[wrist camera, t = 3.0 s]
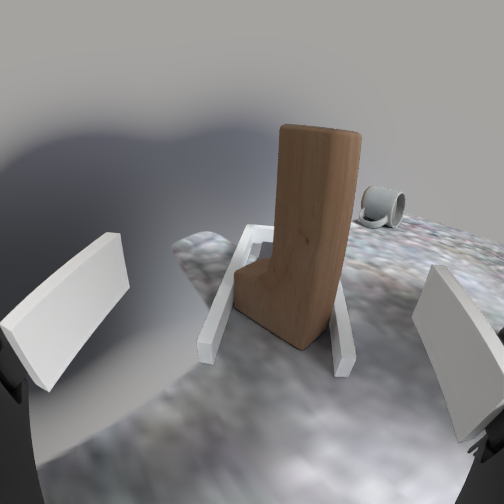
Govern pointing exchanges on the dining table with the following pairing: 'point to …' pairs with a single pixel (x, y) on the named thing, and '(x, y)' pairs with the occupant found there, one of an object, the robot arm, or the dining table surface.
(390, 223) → the ceramic mug
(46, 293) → the robot arm
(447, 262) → the dining table surface
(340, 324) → the channel
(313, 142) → the wooden block
